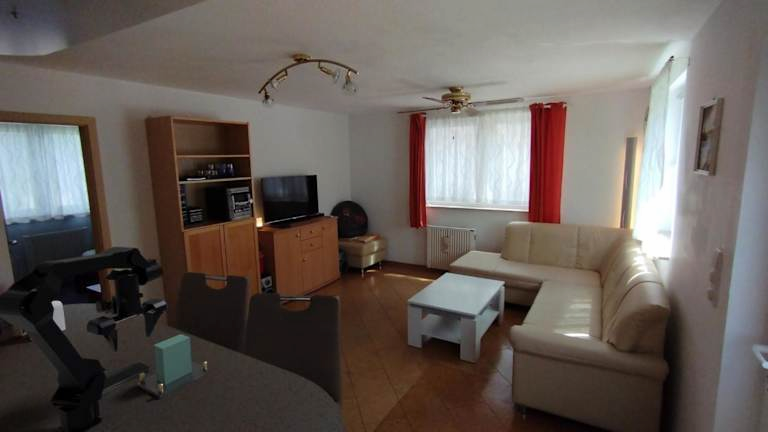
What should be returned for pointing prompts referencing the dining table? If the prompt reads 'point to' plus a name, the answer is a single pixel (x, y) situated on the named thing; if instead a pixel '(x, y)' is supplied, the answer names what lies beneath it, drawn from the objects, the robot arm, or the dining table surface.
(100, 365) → the robot arm
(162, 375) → the teal rectangular block
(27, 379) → the dining table surface
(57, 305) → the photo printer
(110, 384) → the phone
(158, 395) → the chassis
